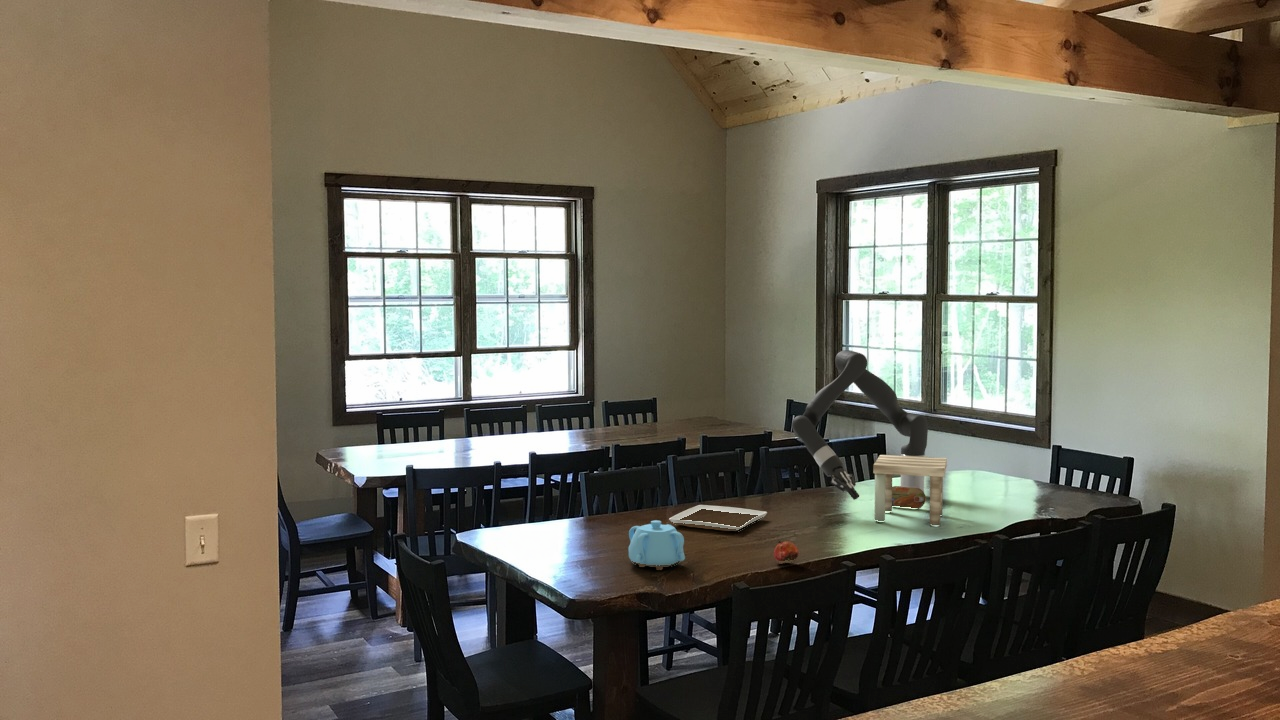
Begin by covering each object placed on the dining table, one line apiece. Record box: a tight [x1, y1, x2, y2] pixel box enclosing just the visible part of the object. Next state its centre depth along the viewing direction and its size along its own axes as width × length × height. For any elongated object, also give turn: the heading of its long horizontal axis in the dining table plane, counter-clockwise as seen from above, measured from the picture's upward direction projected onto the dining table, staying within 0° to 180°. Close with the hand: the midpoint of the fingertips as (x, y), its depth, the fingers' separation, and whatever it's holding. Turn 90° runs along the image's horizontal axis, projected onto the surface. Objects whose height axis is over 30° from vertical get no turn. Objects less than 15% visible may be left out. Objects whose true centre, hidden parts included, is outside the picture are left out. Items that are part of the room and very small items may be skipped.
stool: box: [872, 454, 948, 526], centre depth 371 cm, size 24×24×21 cm
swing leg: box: [874, 473, 886, 521], centre depth 370 cm, size 13×4×17 cm, turn 156°
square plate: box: [668, 504, 768, 530], centre depth 366 cm, size 27×27×4 cm
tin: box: [892, 485, 927, 510], centre depth 391 cm, size 15×3×8 cm, turn 62°
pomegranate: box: [773, 540, 800, 561], centre depth 310 cm, size 7×7×10 cm
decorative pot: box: [627, 519, 686, 566], centre depth 309 cm, size 16×16×14 cm
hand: (857, 498), depth 372 cm, fingers closed
